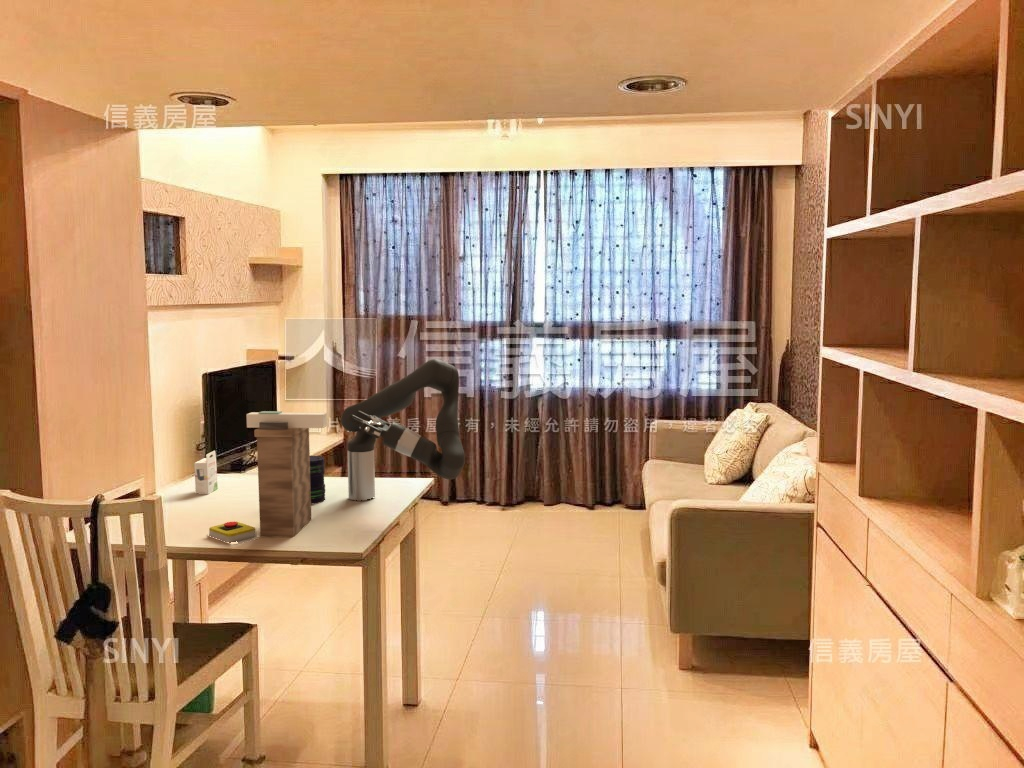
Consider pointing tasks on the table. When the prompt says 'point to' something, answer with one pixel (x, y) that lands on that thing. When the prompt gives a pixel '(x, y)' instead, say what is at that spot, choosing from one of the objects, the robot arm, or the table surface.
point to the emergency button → (233, 532)
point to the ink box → (206, 474)
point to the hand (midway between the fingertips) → (353, 415)
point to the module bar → (288, 419)
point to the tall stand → (283, 478)
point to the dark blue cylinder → (317, 479)
